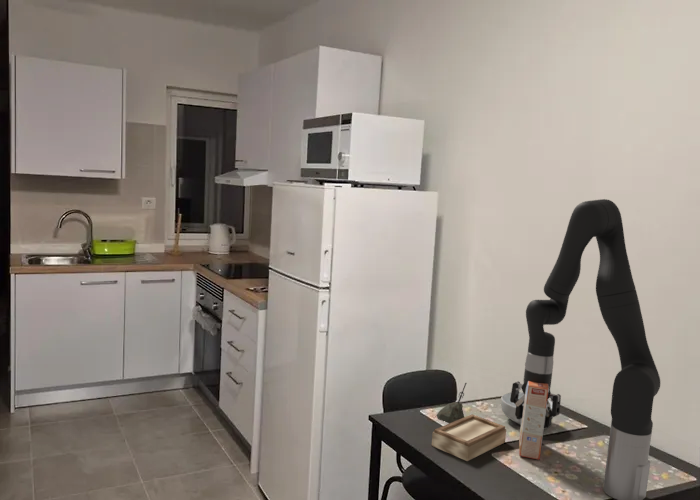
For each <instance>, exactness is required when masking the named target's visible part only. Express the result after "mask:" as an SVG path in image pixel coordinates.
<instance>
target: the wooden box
mask: <svg viewBox="0 0 700 500" xmlns="http://www.w3.org/2000/svg"><path fill="white" fill-rule="evenodd" d="M431 434H432V435H431V438H432V439H431V447H433V448H436V449H438V450H441V451H443V452H445V453H448V454H449V455H451V456H455V457H456V458H459V459H461V460H463V461H466V462H469V461H471V460H473V459H475V458H476V457H478V456H480V455H483V454H484V453H486V452H489V451H490V450H493V449H494V448H496V447H498V446H501V445H502V444H504V443H506V436H507V429H506V425H502V424H499V423H497V422H494V421H491V420H490V419H489V420H488V419H486V418H484V417H481V416H478V415H475V414H473V413H472V414H469V415H466V416H464V418H462V419H459V420H457V421H454V422H452V423H448V424H445V425H443V426H440V427H437V428H436V429H434V431H432V433H431Z"/></svg>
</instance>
